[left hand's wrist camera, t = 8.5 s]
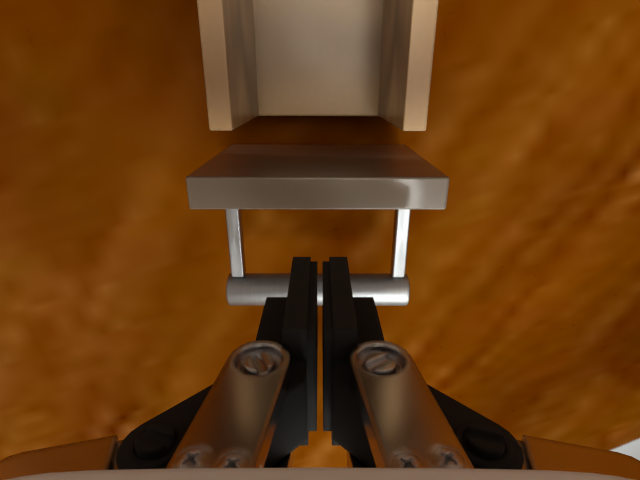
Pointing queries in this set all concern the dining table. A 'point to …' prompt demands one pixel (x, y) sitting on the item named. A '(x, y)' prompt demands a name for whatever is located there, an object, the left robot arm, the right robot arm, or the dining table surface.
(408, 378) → the left robot arm
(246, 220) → the dining table surface
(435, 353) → the dining table surface
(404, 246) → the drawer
